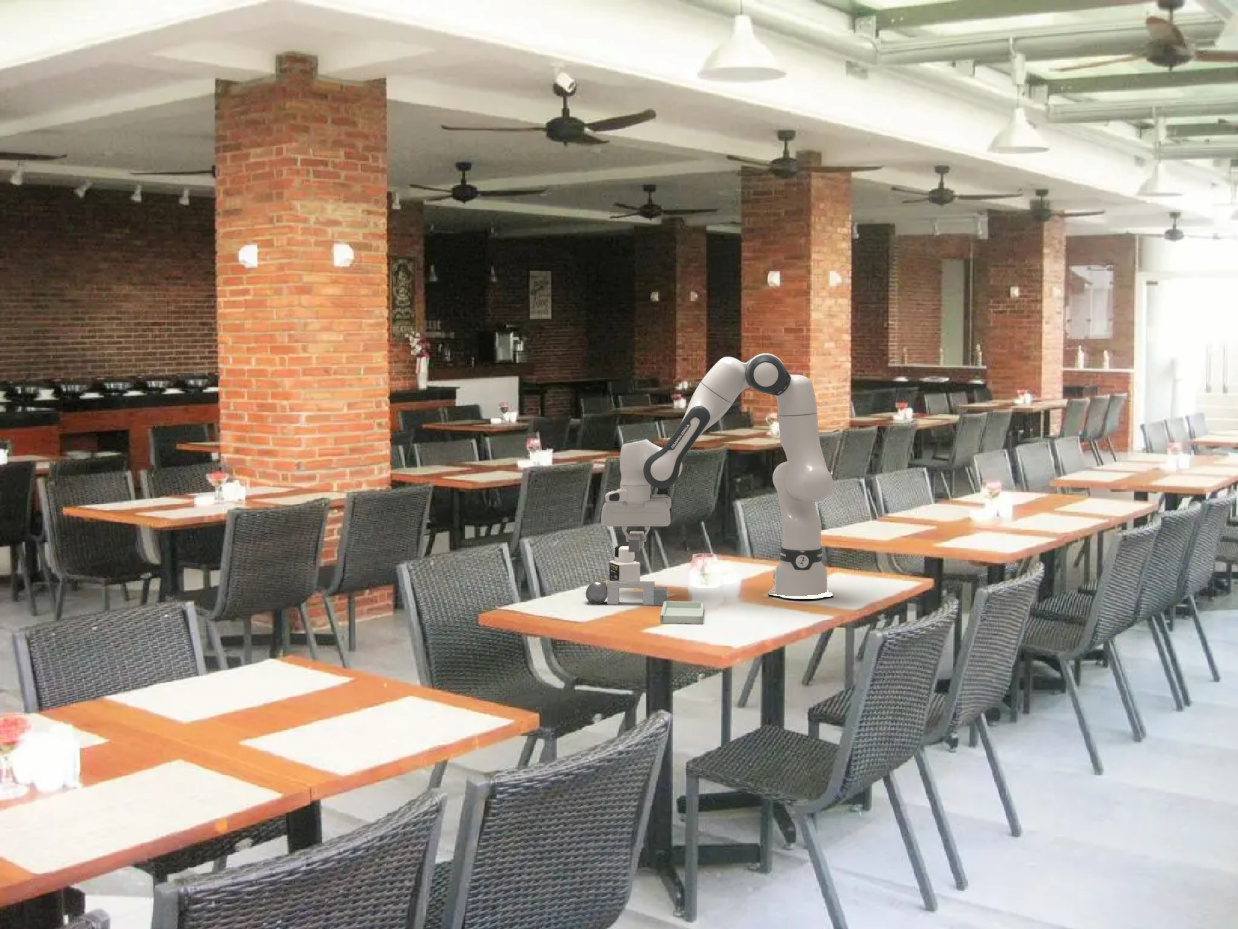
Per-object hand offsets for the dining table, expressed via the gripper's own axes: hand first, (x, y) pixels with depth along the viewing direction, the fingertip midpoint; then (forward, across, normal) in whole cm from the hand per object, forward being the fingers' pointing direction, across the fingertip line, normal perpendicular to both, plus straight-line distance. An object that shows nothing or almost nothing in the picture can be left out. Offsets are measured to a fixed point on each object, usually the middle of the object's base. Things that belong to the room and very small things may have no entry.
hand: (636, 541), depth 387 cm
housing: (+15, +2, +16) cm, 22 cm away
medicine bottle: (+15, +4, -13) cm, 21 cm away
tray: (+15, -15, +32) cm, 38 cm away
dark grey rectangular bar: (+2, 0, +2) cm, 3 cm away
